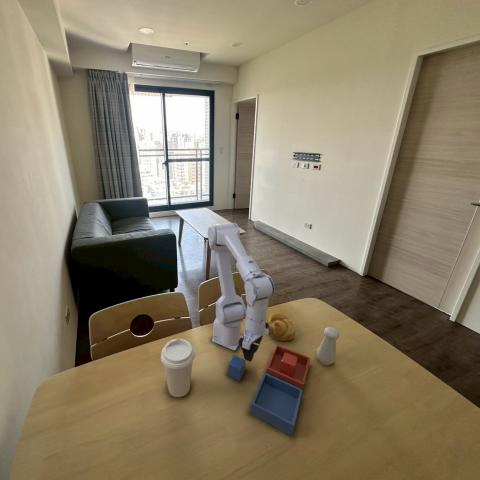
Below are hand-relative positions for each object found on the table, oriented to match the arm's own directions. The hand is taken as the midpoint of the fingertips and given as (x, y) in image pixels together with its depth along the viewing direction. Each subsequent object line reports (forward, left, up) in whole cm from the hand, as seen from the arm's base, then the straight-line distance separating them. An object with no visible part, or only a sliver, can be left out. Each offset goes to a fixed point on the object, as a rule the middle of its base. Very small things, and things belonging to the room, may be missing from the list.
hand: (252, 350), depth 77 cm
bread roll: (+3, +23, -10) cm, 26 cm away
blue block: (-4, -3, -9) cm, 10 cm away
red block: (+10, +7, -9) cm, 15 cm away
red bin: (+10, +6, -9) cm, 15 cm away
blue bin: (+10, -7, -9) cm, 15 cm away
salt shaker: (+20, +17, -10) cm, 28 cm away
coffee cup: (-17, -16, -10) cm, 25 cm away
